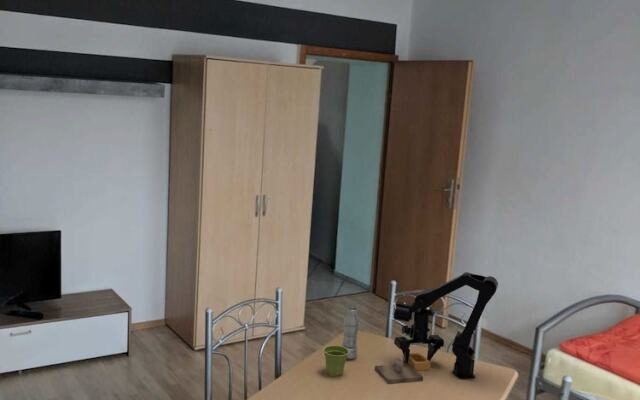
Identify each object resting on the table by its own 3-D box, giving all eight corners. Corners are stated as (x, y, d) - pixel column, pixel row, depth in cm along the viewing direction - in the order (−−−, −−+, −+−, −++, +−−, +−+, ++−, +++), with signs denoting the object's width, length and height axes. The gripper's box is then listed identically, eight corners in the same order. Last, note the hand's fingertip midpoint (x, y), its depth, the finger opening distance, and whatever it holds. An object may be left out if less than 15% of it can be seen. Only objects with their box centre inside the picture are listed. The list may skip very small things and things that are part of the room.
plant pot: (345, 379, 237) (346, 357, 236) (319, 376, 239) (321, 353, 237) (349, 369, 246) (351, 347, 245) (324, 365, 248) (326, 343, 246)
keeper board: (408, 367, 252) (410, 349, 251) (422, 380, 241) (424, 362, 240) (374, 369, 248) (376, 351, 246) (387, 383, 236) (389, 365, 235)
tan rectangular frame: (419, 360, 259) (420, 352, 259) (430, 369, 251) (430, 362, 250) (404, 361, 257) (404, 353, 257) (414, 370, 249) (415, 363, 248)
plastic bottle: (357, 355, 260) (361, 306, 257) (356, 362, 253) (360, 312, 250) (341, 353, 260) (344, 305, 257) (339, 360, 254) (343, 310, 250)
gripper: (433, 315, 262) (429, 353, 264) (390, 318, 256) (386, 356, 259) (446, 326, 251) (442, 364, 254) (402, 328, 245) (398, 367, 248)
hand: (417, 362), depth 254 cm, fingers open, 9 cm apart
